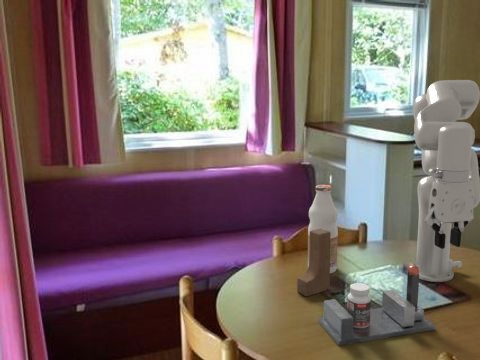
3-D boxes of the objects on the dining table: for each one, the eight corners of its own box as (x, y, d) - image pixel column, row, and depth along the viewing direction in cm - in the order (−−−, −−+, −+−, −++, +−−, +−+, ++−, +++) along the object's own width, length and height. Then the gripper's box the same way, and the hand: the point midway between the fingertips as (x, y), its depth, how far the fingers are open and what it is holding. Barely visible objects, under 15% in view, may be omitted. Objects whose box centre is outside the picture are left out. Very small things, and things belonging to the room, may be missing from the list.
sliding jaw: (405, 305, 131) (407, 257, 128) (428, 322, 121) (431, 272, 118) (381, 308, 129) (383, 260, 126) (403, 327, 120) (406, 275, 117)
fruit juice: (307, 274, 156) (307, 189, 150) (308, 263, 165) (309, 182, 159) (337, 275, 154) (338, 189, 148) (336, 264, 163) (338, 183, 157)
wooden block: (306, 297, 140) (307, 237, 136) (296, 291, 144) (296, 233, 140) (330, 289, 145) (331, 231, 141) (319, 284, 148) (320, 227, 144)
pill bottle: (357, 331, 118) (358, 293, 116) (341, 321, 123) (342, 285, 121) (374, 325, 121) (376, 288, 119) (358, 315, 126) (359, 280, 124)
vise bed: (407, 307, 132) (408, 286, 131) (435, 329, 121) (436, 306, 120) (318, 321, 126) (318, 299, 125) (338, 345, 115) (339, 321, 113)
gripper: (432, 181, 115) (427, 254, 119) (492, 176, 119) (485, 247, 123) (413, 175, 122) (409, 244, 126) (470, 170, 126) (465, 238, 130)
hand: (447, 245), depth 124 cm, fingers open, 3 cm apart
